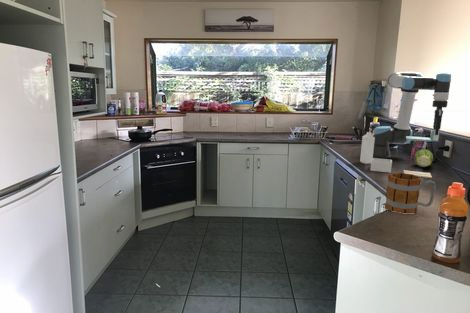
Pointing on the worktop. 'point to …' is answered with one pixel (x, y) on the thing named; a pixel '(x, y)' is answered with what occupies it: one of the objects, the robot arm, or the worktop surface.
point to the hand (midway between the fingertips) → (435, 139)
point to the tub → (381, 165)
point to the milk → (367, 148)
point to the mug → (405, 192)
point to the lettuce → (423, 158)
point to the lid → (422, 137)
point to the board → (419, 174)
